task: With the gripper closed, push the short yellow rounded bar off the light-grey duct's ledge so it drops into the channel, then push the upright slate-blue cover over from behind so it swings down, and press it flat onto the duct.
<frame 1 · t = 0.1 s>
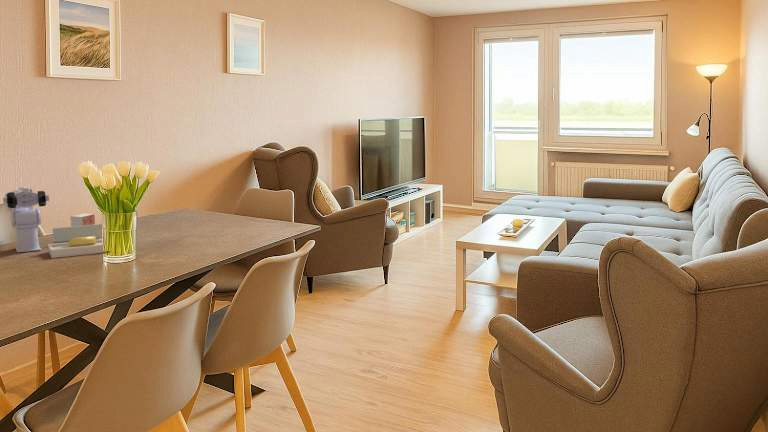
hand: (28, 200, 225), 22 cm above the table, tool horizontal, fingers open, 7 cm apart
yellow rounded bar: (82, 241, 240), point 4 cm above the table, touching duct
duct: (78, 251, 243), on the table
cover: (76, 233, 245), point 6 cm above the table, hinge at 90.0°
small box: (84, 240, 263), on the table
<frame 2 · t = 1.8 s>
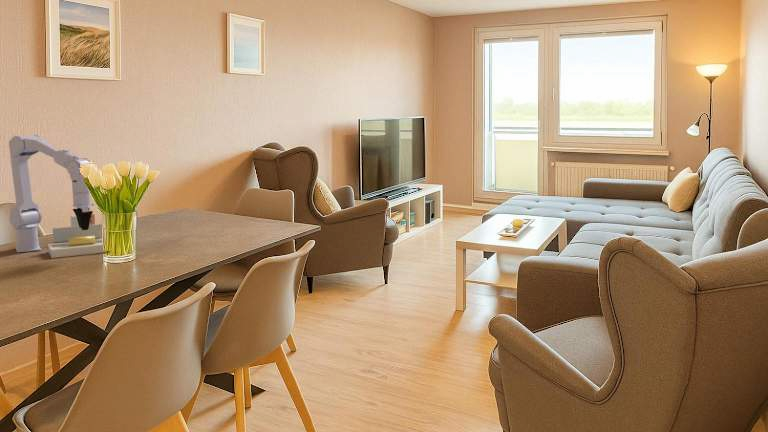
hand: (83, 228, 234), 10 cm above the table, tool pointing down, fingers open, 5 cm apart
yellow rounded bar: (81, 240, 241), point 4 cm above the table, tilted 42°, touching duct
everything else where it was.
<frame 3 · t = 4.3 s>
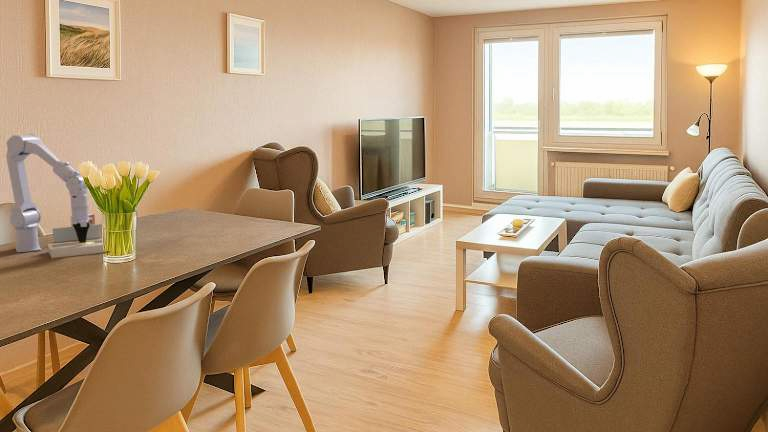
hand: (82, 242, 240), 4 cm above the table, tool pointing down, fingers closed
yellow rounded bar: (81, 246, 243), point 2 cm above the table, tilted 169°, touching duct
everything else where it was.
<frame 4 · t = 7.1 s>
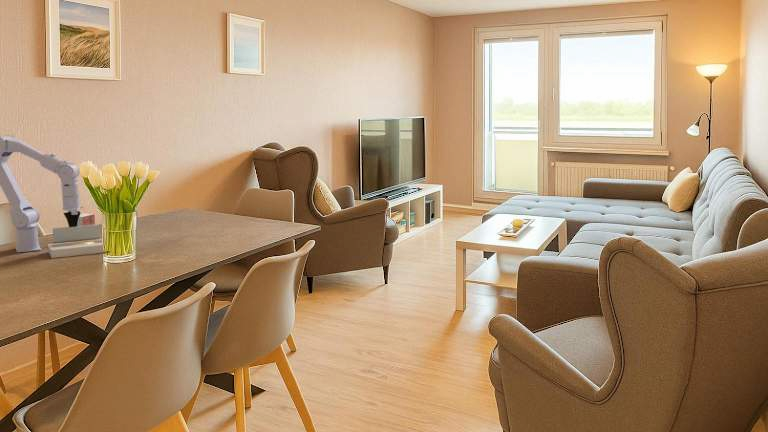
hand: (73, 230, 244), 8 cm above the table, tool pointing down, fingers closed, pressing on cover
yellow rounded bar: (81, 246, 243), point 2 cm above the table, tilted 161°, touching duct
cover: (76, 234, 245), point 6 cm above the table, hinge at 85.4°, touching gripper
everything else where it was.
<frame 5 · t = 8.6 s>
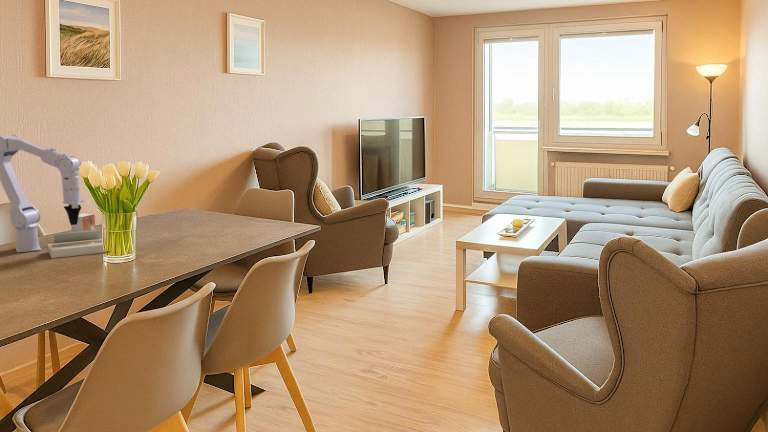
hand: (73, 224, 241), 10 cm above the table, tool pointing down, fingers closed
cover: (77, 236, 243), point 6 cm above the table, hinge at 43.9°
everything else where it was.
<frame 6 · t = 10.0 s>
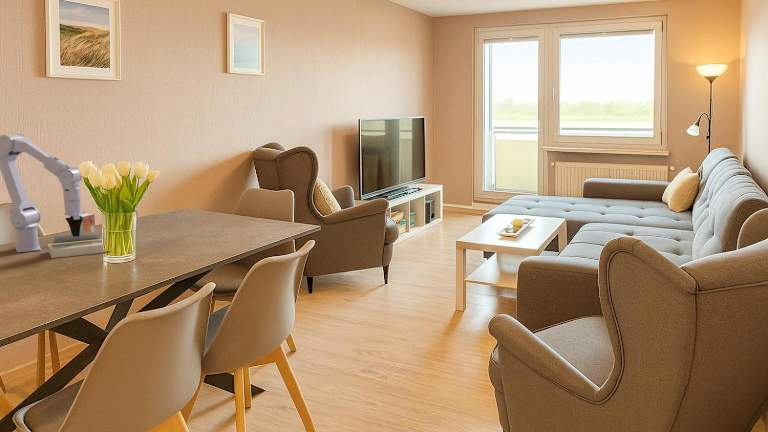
hand: (75, 236, 241), 6 cm above the table, tool pointing down, fingers closed, pressing on cover
yellow rounded bar: (81, 246, 243), point 2 cm above the table, tilted 150°, touching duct
cover: (77, 237, 243), point 5 cm above the table, hinge at 32.1°, touching gripper
everything else where it was.
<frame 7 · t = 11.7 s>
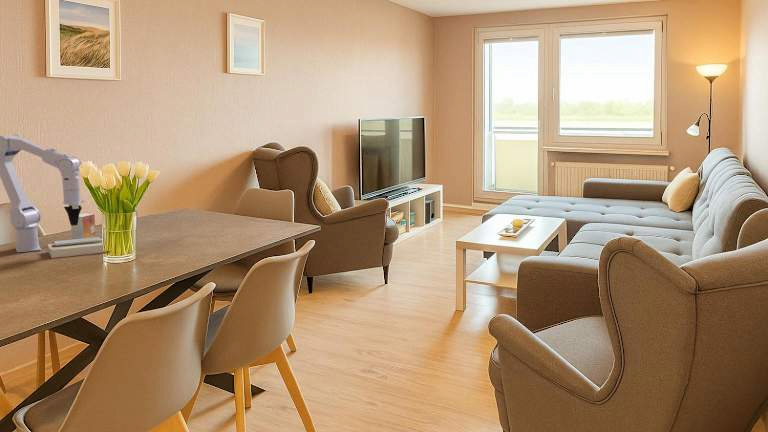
hand: (74, 225, 241), 10 cm above the table, tool pointing down, fingers closed
yellow rounded bar: (81, 246, 244), point 2 cm above the table, tilted 173°, touching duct
cover: (77, 241, 243), point 4 cm above the table, hinge at -0.3°
everything else where it was.
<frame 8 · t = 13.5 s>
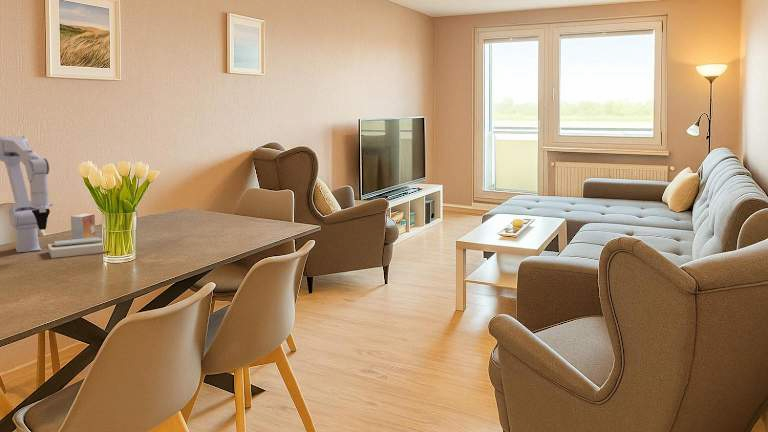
hand: (42, 229, 232), 10 cm above the table, tool pointing down, fingers closed
yellow rounded bar: (81, 246, 244), point 2 cm above the table, tilted 155°, touching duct
cover: (77, 241, 243), point 4 cm above the table, hinge at -0.6°
everything else where it was.
at the end: cover at -1° (first picture: +90°); yellow rounded bar inside the target area (1.2 cm from its centre), point 1.8 cm above the table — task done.
